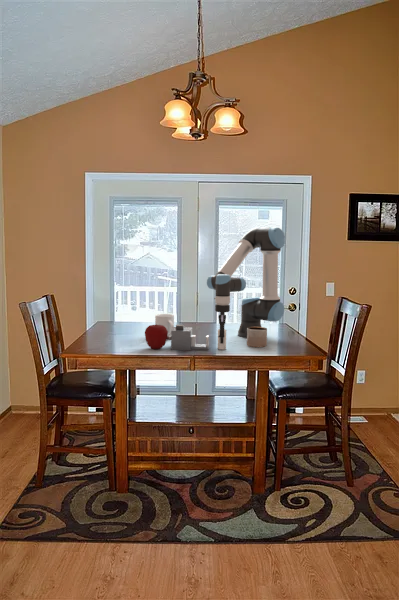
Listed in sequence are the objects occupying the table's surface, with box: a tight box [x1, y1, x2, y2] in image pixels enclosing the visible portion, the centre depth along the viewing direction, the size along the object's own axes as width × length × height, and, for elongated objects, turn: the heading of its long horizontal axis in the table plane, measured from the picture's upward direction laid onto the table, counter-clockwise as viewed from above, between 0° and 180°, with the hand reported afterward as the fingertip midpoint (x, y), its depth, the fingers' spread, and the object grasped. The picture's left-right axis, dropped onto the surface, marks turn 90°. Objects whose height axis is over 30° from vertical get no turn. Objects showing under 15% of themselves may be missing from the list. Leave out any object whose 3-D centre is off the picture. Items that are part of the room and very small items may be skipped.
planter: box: [246, 326, 268, 348], centre depth 260 cm, size 11×11×10 cm
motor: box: [166, 324, 210, 351], centre depth 251 cm, size 22×12×12 cm, turn 87°
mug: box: [154, 313, 175, 336], centre depth 278 cm, size 15×11×13 cm
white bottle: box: [217, 328, 227, 351], centre depth 250 cm, size 4×4×12 cm
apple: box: [144, 324, 168, 350], centre depth 248 cm, size 12×12×13 cm
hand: (221, 348), depth 251 cm, fingers closed on white bottle, 4 cm apart
